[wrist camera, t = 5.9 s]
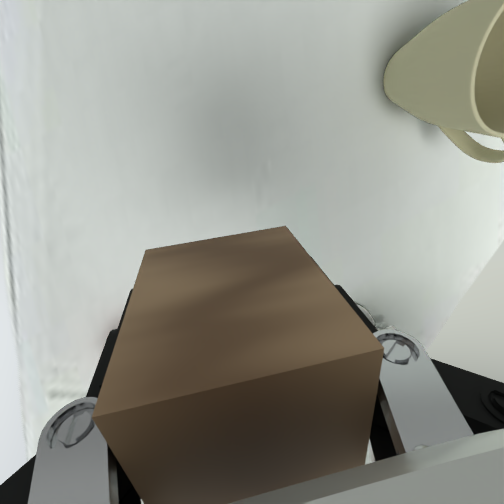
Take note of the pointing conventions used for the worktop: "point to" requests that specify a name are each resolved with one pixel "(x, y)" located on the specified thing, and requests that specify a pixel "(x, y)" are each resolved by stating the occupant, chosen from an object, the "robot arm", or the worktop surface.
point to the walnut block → (236, 373)
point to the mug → (455, 75)
